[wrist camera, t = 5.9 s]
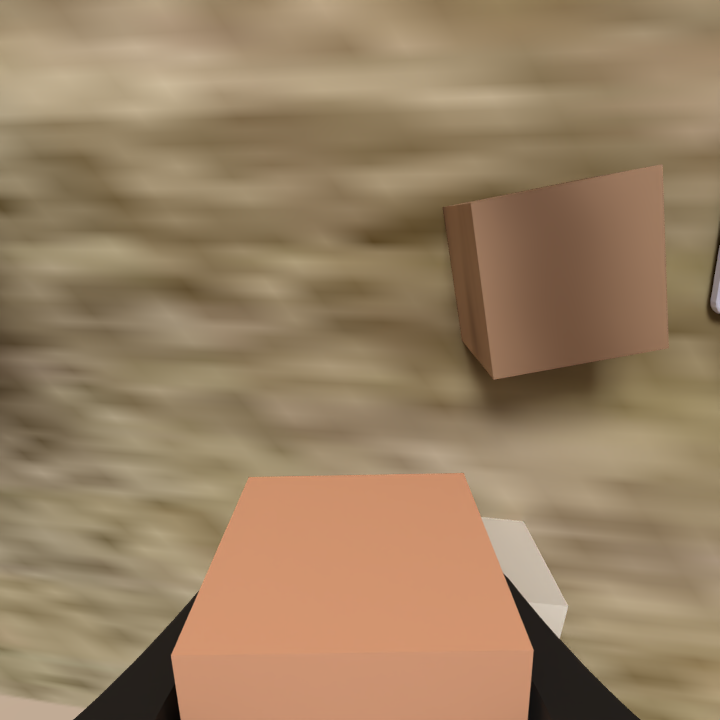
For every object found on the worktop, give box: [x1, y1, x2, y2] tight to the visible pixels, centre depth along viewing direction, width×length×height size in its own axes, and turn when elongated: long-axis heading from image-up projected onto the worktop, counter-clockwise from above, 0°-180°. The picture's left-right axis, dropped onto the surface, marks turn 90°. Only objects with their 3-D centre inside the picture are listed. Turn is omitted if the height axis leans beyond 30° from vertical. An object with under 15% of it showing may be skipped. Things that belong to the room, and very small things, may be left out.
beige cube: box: [481, 517, 568, 639], centre depth 20 cm, size 5×5×5 cm
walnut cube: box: [443, 165, 669, 380], centre depth 16 cm, size 5×5×5 cm
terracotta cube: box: [171, 473, 534, 720], centre depth 10 cm, size 5×5×5 cm
